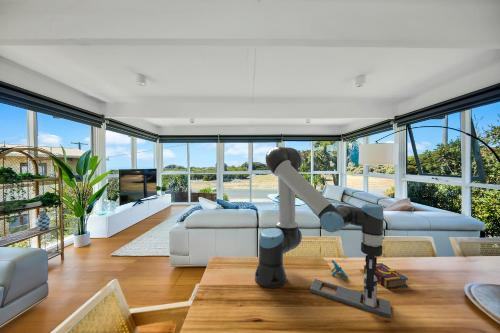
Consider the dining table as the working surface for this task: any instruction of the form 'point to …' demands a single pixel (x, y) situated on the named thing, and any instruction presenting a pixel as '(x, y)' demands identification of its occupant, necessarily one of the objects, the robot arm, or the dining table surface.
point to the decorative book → (388, 277)
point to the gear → (338, 269)
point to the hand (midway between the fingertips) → (369, 298)
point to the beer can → (374, 290)
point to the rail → (349, 297)
